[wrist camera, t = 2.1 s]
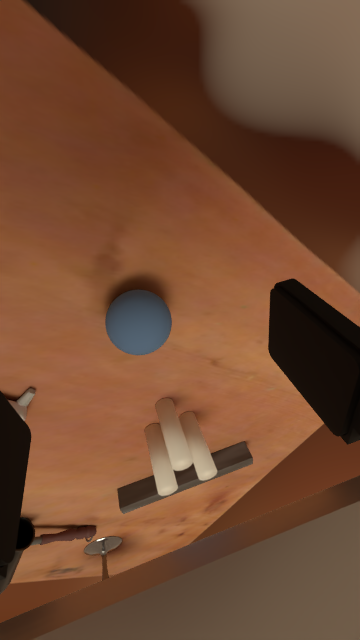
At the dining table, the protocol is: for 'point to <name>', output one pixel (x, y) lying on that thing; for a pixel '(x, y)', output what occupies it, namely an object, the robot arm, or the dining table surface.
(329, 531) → the robot arm
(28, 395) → the mobile phone
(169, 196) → the dining table surface
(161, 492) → the pin
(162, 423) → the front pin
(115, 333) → the ball
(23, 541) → the coffee pot
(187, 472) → the back wall
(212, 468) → the pin
